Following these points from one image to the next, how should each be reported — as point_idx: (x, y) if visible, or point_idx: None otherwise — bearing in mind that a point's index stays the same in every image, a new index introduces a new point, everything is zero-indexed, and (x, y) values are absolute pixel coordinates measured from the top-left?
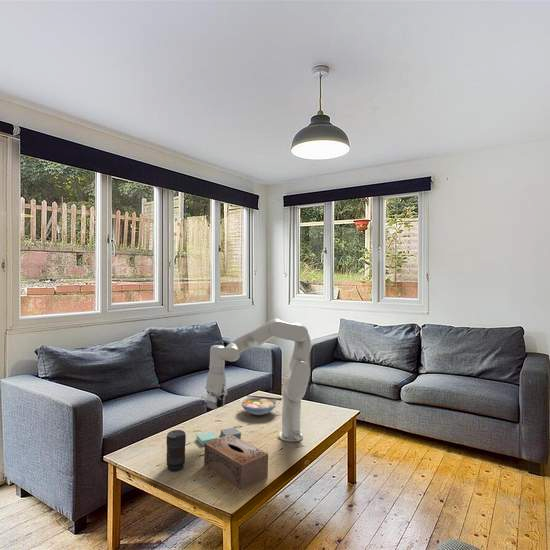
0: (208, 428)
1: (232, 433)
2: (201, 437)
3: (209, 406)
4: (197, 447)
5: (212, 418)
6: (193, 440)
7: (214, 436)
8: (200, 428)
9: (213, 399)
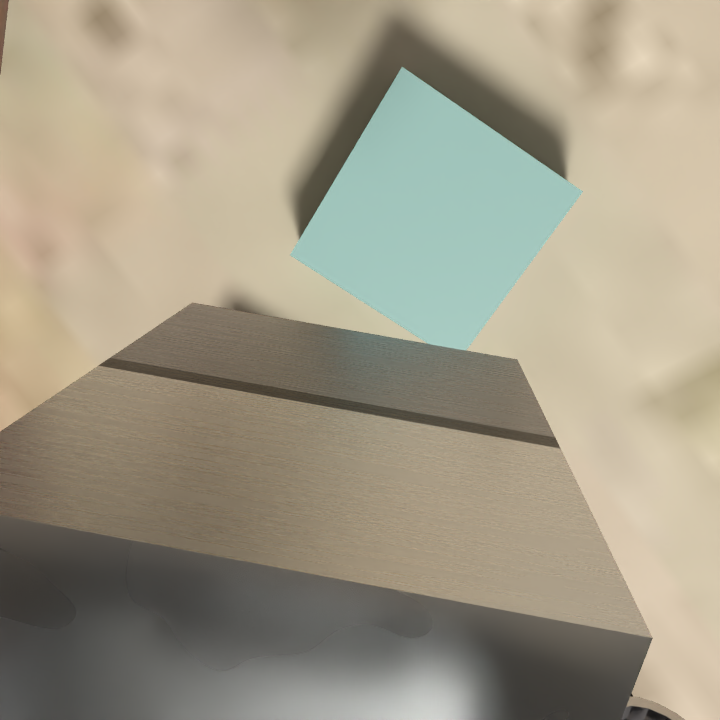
0: (609, 498)
1: None
2: (473, 155)
3: (410, 352)
4: (427, 11)
5: (710, 712)
6: (589, 148)
7: (345, 270)
8: (697, 458)
9: (128, 430)
